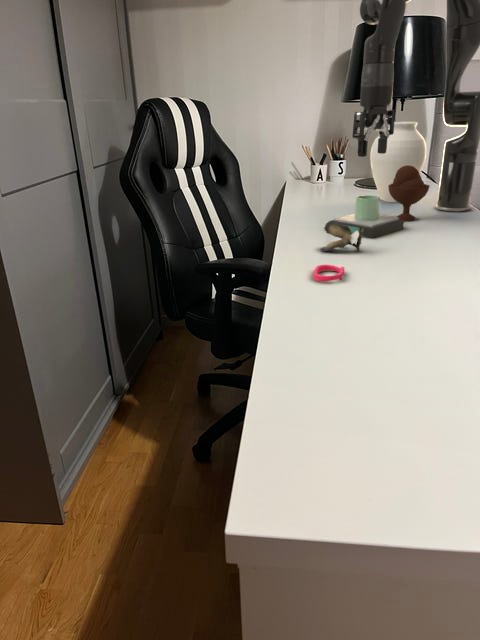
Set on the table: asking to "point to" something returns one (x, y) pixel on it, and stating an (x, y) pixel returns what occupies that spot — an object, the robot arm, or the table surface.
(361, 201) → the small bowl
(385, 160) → the vase
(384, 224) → the scale
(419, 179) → the ice cream bowl
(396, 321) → the table surface
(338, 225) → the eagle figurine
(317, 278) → the fitness band
